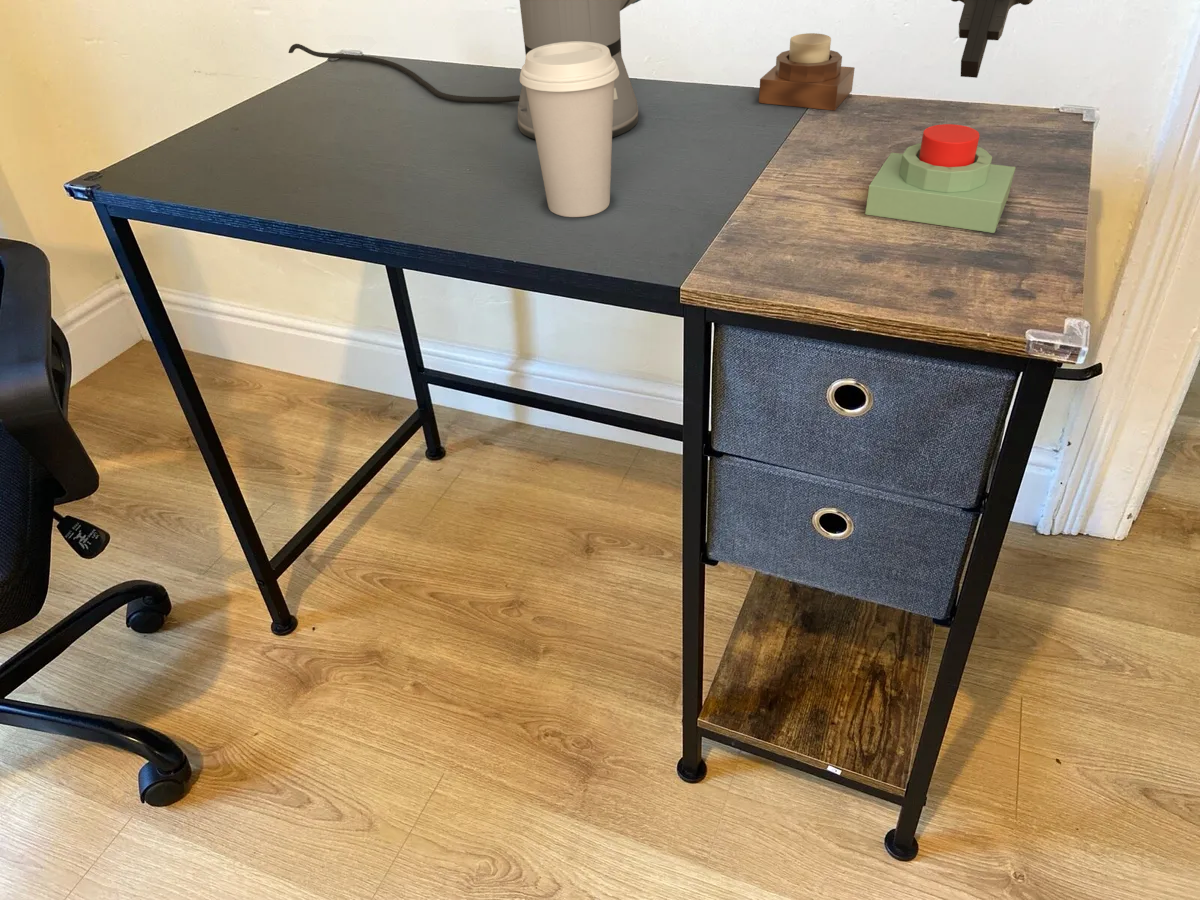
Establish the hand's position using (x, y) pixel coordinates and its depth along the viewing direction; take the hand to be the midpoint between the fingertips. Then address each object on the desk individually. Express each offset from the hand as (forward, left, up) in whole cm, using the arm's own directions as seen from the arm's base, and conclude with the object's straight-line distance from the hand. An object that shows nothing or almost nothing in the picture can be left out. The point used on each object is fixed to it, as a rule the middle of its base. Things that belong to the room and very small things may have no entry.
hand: (969, 69), depth 81 cm
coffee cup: (-34, -15, -12) cm, 39 cm away
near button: (0, -3, -8) cm, 8 cm away
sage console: (0, -3, -12) cm, 12 cm away
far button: (-22, +25, -8) cm, 35 cm away
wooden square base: (-22, +25, -12) cm, 36 cm away
